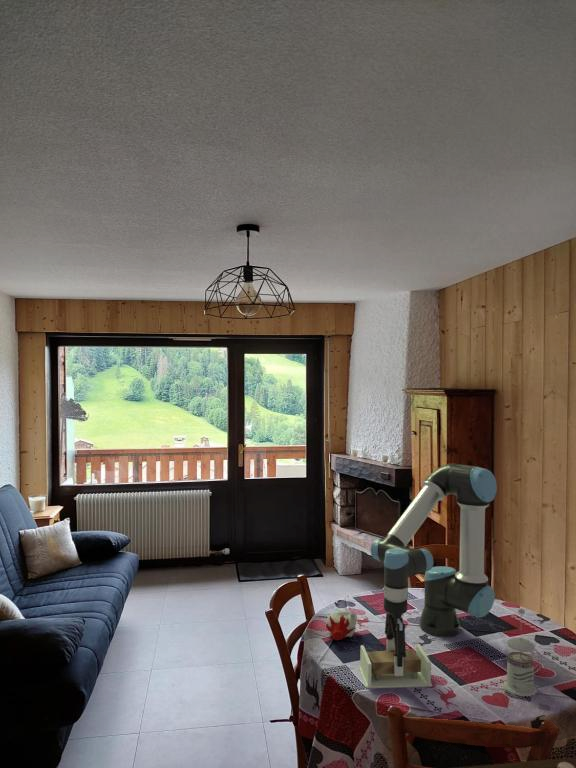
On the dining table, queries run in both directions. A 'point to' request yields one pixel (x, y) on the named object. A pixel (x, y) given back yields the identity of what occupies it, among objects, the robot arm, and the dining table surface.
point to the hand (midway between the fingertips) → (394, 667)
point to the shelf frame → (390, 679)
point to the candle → (341, 624)
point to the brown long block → (385, 662)
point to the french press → (516, 680)
